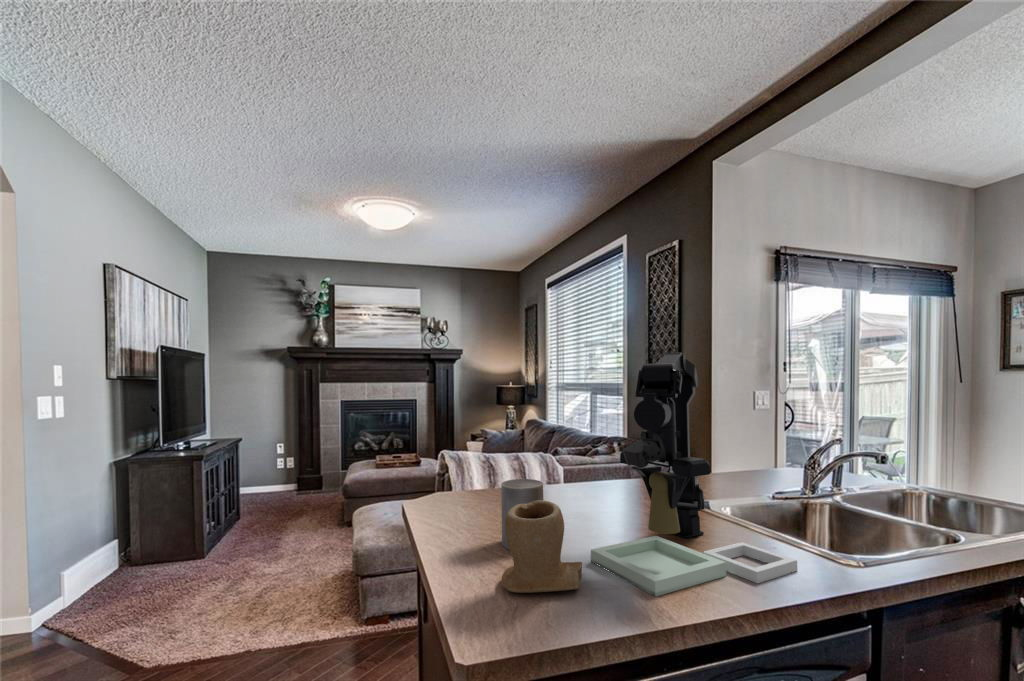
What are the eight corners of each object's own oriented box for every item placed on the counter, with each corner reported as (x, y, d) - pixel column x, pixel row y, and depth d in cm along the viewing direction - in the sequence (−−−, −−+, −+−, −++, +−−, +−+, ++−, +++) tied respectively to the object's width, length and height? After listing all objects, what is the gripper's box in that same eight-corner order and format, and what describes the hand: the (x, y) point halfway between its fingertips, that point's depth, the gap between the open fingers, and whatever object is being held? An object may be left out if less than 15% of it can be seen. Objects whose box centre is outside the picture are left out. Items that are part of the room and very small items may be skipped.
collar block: (703, 561, 98) (703, 551, 98) (742, 551, 104) (741, 542, 104) (757, 583, 87) (757, 572, 88) (797, 570, 93) (796, 560, 93)
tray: (591, 562, 98) (590, 549, 98) (656, 547, 107) (656, 535, 107) (655, 596, 82) (655, 581, 83) (726, 575, 91) (725, 562, 91)
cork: (641, 526, 97) (640, 471, 98) (666, 523, 99) (664, 468, 100) (661, 535, 91) (659, 476, 92) (687, 531, 93) (684, 473, 94)
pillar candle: (534, 535, 115) (532, 471, 117) (552, 548, 106) (550, 479, 108) (495, 541, 112) (494, 475, 113) (511, 555, 103) (509, 483, 104)
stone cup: (500, 604, 80) (500, 512, 81) (502, 575, 92) (501, 495, 93) (592, 603, 80) (590, 511, 81) (581, 575, 92) (579, 494, 93)
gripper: (599, 424, 101) (600, 500, 100) (667, 432, 85) (670, 523, 83) (639, 422, 106) (641, 494, 105) (710, 429, 90) (713, 514, 89)
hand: (663, 505), depth 96 cm, fingers closed on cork, 4 cm apart
